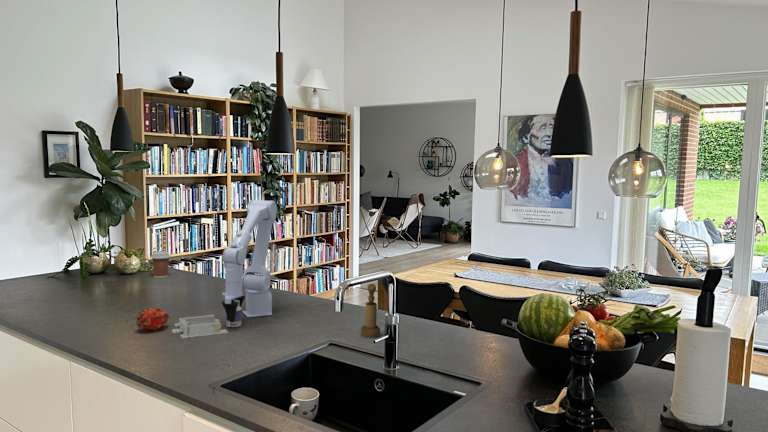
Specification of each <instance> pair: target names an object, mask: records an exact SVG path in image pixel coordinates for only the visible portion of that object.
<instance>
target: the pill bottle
mask: <svg viewBox="0 0 768 432" xmlns="http://www.w3.org/2000/svg"><path fill="white" fill-rule="evenodd" d="M234 302H239V300H234ZM225 326H226V327H228V328H237V327H240V326H242V306H241V307H240V306H239V304H238V306H237V310H236V316H235V320H234V321H228V319H227V315H226V314H225Z"/></svg>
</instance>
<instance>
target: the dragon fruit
mask: <svg viewBox="0 0 768 432" xmlns="http://www.w3.org/2000/svg"><path fill="white" fill-rule="evenodd" d="M169 318H170V317H169V315H168V313H167V312H165V310H162V309H160V307H159V306H156V307H155V308H152V307H149V308H147V309H144V308H143V309H142V310H141V311H140V312H139V313H138V314H137V316H136V325H137V326H138V328H139V329H140V330H143V329H144V331H145V332H148V331H149V330H150V331H154V332H155V331H157V330H159V329H160V330H162V329H163V328H165V326H164V325H166V323H167V321H168V319H169Z"/></svg>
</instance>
